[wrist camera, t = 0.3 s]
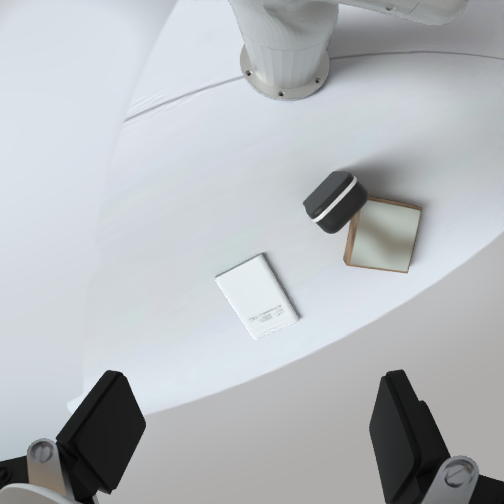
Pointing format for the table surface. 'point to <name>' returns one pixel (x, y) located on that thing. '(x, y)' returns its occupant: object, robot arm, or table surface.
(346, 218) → the battery charger
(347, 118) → the table surface
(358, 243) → the plinth
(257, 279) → the external hard drive
